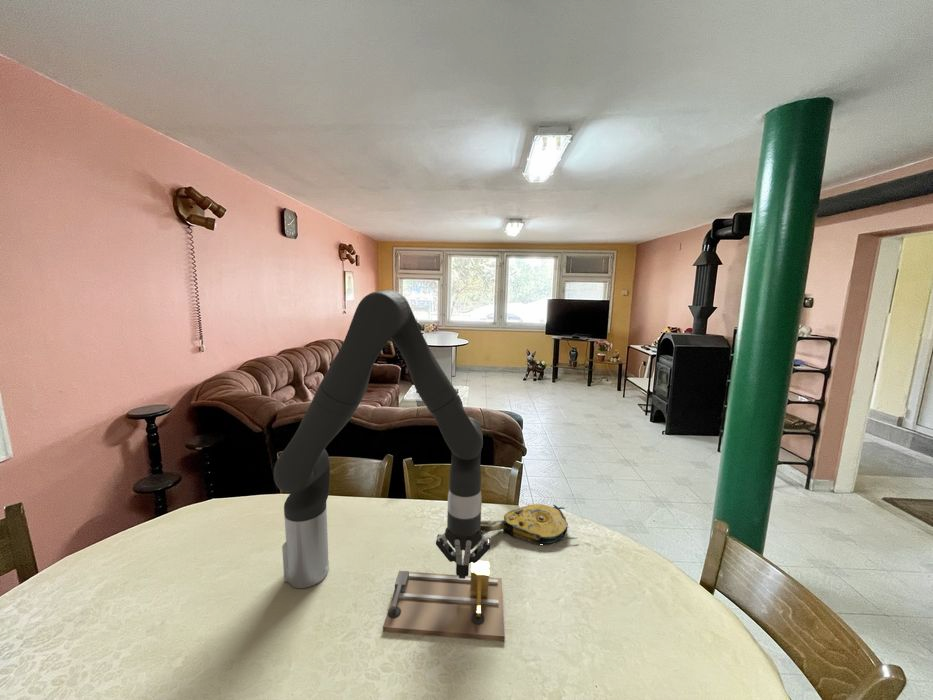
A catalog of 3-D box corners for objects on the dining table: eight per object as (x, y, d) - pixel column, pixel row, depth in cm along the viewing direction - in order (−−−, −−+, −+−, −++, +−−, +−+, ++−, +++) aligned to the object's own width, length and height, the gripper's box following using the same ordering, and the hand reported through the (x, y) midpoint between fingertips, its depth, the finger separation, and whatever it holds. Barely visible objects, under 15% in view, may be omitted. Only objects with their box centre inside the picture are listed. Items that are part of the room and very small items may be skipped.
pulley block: (470, 499, 111) (564, 497, 114) (469, 514, 113) (562, 512, 116) (476, 536, 98) (582, 532, 101) (474, 552, 100) (579, 548, 103)
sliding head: (468, 620, 76) (469, 595, 75) (470, 583, 85) (471, 560, 84) (487, 621, 76) (488, 596, 75) (487, 584, 85) (488, 561, 84)
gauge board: (383, 631, 74) (382, 617, 74) (400, 575, 89) (400, 562, 88) (504, 641, 73) (505, 626, 72) (501, 582, 88) (502, 569, 87)
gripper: (432, 515, 77) (431, 587, 80) (494, 519, 76) (491, 591, 79) (437, 496, 84) (436, 561, 87) (493, 499, 83) (490, 565, 86)
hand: (462, 575), depth 83 cm, fingers closed
